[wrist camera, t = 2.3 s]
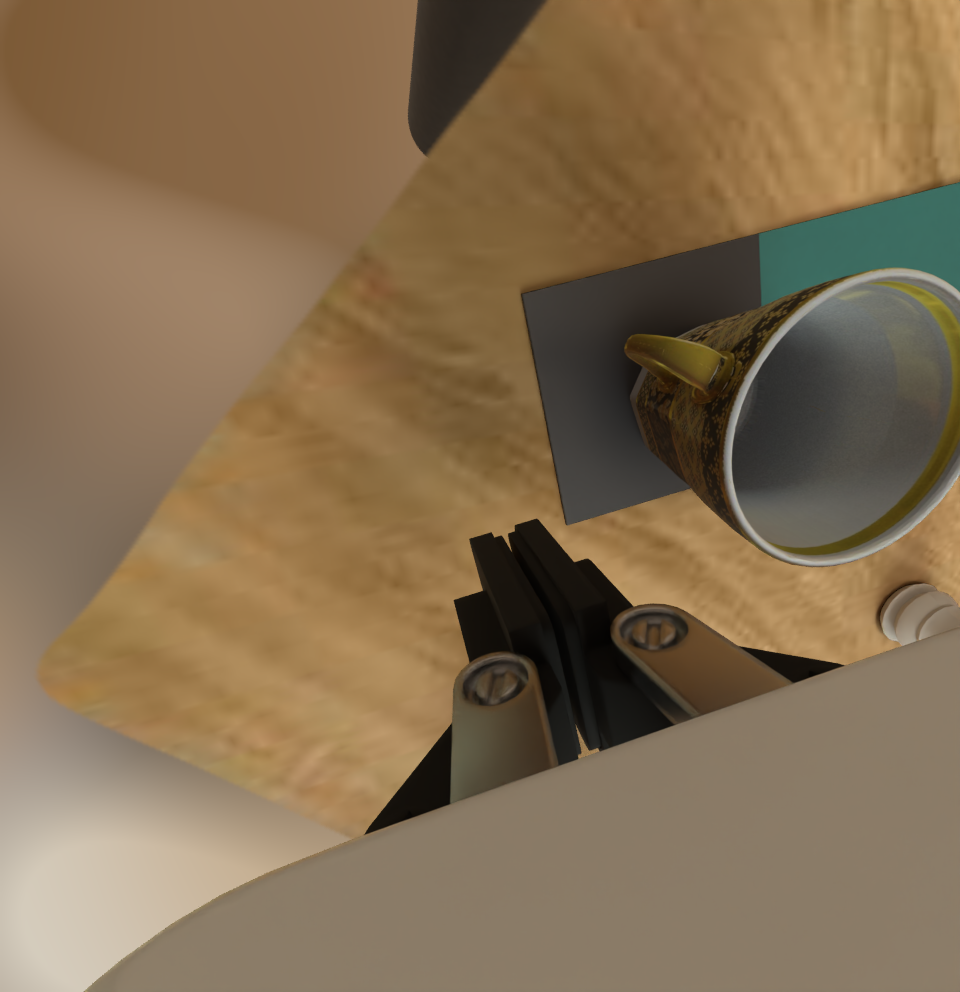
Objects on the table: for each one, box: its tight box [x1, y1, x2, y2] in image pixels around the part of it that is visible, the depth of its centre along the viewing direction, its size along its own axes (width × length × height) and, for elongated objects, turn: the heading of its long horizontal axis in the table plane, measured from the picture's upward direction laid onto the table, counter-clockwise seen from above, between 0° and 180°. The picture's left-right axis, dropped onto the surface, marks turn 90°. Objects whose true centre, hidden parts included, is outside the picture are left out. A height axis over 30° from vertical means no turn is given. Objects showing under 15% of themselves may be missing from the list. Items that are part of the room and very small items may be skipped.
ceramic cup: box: [624, 268, 960, 567], centre depth 21 cm, size 13×10×10 cm
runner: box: [521, 182, 960, 525], centre depth 26 cm, size 12×24×1 cm, turn 104°
